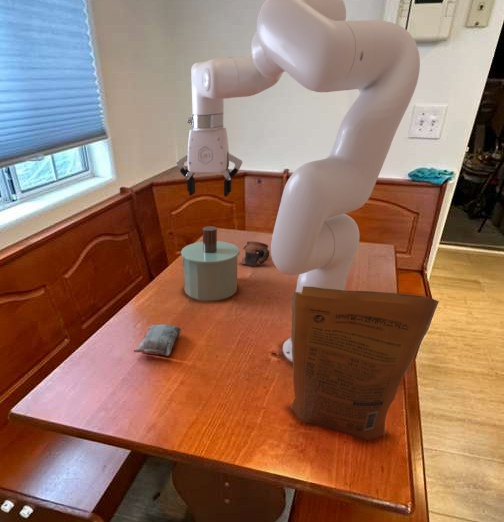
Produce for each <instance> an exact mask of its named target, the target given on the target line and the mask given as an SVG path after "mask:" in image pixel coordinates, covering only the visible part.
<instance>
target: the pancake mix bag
mask: <svg viewBox="0 0 504 522" xmlns="http://www.w3.org/2000/svg"><path fill="white" fill-rule="evenodd" d="M439 303H440V301H439V300H436V299H434V298H432V297H430V296H424V295H418V294H410V293H399V292H387V291H371V290H346V289H345V290H336V289H325V288H317V287H306V286H303V290H302V293H301V292H296V290H294V291H293V295H292V299H291V333H290V338H291V341H292V359H293V362H292V375H293V376H292V382H293V383H292V384H293V393H294V399H293V401H292V403H291V406H290V409H291V410H292V411H293V412H294V414H295V415H296V416H297V418H298V419H299V420H301V421H302V422H304V423H305V424H309V425H310V426H311V425H312V426H316V427H318V428H323V429H325V430H329V431H333V432H337V433H340V434H344V435H346V436H350V437H353V438H357V439H359V440H363V441H369V440H375V439H377V438H380V437H382V436H384V435H386V420H387V414H388V411H389V409H390V406H391V405H392V403H393V402H394V400H395V398H396V394H397V392H398V389H399V387H400V384H401V381H402V379H403V377H404V375H405V374H406V373H407V371H408V369H409V368H410V365H412V363H413V360H414V359H415V356H416V353H417V351H418V349H419V346H420V345H421V342H422V340H423V338H424V336H425V335H426V333H427V331H428V329H429V327H430V325H431V322H432V320H433V317H434V315H435V312H436V310H437V307H438V305H439Z"/></svg>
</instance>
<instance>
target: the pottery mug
mask: <svg viewBox="0 0 504 522" xmlns="http://www.w3.org/2000/svg"><path fill="white" fill-rule="evenodd" d="M242 249H243V250H244V251H245V255H244V256H243V257H242V258H241V265H247V266H251V267H257V266H258V265H257V264H258V263H259V264H260V265H263V264H264V263H265V262H266V261H267V260H268V259H269V258H270V250H269V245H268V244H266V243H264V242H261V241H247V242H246V245H245V246H243V248H242Z"/></svg>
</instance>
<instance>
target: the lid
mask: <svg viewBox="0 0 504 522" xmlns="http://www.w3.org/2000/svg"><path fill="white" fill-rule="evenodd" d="M239 254H240V248H239V247H238V246H237V245H236V244H233V243H230V242H228V241H221V240H218V228H217V227H216V226H211V225H209V226H208V225H207V226H204V227H202V241H197V242H193V243H190V244H188V245H186V246H184V247H183V248H182V249H181V251H180V255H181V257H182V259H183V258H184V259H186V260H188V261H191V262H195V263H203V264H213V263H221V262H226V261H229V260H232V259H234V258H236V257H237V256H238V257H239Z"/></svg>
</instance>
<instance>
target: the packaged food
mask: <svg viewBox="0 0 504 522" xmlns="http://www.w3.org/2000/svg"><path fill="white" fill-rule="evenodd" d="M181 330H182V329H181V327H179V326H176V325H171V324H153V325H150V326H148V327H147V331H146V334H144V337H143V338H142V340H141V342H140V343H139V344H138V345H137V347H136V348H135V349H133V352H134V353H141V354H148V355H157V356H160V355H161V356H165V357H170V356H171V354H172V352H173V349H174V346H175V344H176V342H177V340H178V338H179V336H180V334H181Z"/></svg>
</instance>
